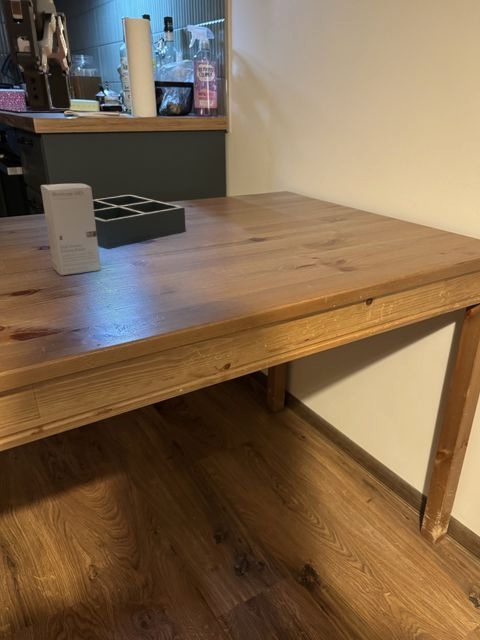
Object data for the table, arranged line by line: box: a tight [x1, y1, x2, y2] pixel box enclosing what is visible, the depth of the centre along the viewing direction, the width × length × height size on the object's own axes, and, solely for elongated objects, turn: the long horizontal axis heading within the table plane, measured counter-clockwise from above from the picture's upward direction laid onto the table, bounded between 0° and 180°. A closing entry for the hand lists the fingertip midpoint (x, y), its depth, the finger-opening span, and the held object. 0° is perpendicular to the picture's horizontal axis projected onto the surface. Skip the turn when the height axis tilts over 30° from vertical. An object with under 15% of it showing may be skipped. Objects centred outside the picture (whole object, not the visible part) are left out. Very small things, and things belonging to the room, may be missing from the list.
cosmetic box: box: [40, 182, 101, 276], centre depth 72 cm, size 6×4×12 cm
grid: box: [93, 194, 187, 249], centre depth 94 cm, size 17×17×5 cm
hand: (52, 109), depth 59 cm, fingers open, 8 cm apart
